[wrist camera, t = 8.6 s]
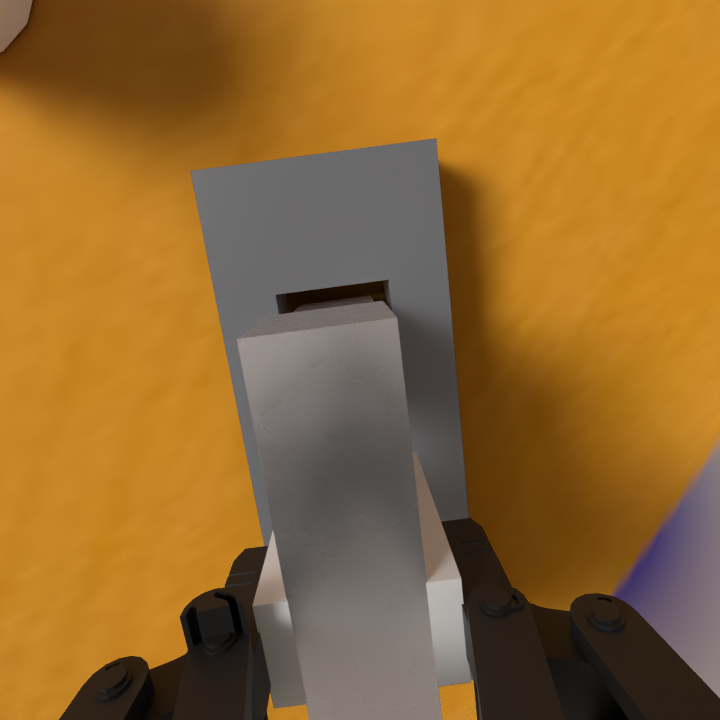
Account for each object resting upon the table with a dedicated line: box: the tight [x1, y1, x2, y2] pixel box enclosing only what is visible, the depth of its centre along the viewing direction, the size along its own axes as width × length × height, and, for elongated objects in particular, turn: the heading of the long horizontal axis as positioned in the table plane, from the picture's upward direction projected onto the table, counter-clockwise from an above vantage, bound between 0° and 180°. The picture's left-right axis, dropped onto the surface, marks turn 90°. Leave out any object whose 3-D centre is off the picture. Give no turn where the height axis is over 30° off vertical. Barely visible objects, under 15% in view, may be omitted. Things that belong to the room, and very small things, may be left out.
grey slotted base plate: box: [191, 138, 473, 680], centre depth 21 cm, size 9×24×3 cm, turn 7°
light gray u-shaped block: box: [237, 295, 442, 720], centre depth 16 cm, size 3×14×12 cm, turn 7°
